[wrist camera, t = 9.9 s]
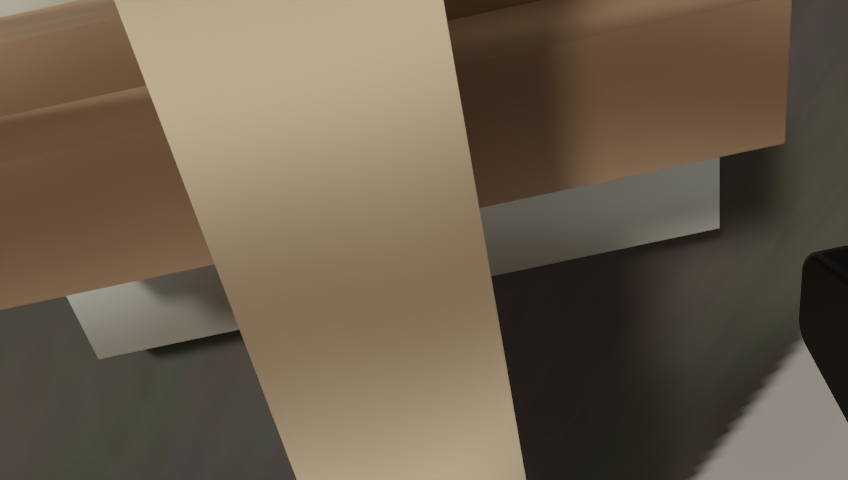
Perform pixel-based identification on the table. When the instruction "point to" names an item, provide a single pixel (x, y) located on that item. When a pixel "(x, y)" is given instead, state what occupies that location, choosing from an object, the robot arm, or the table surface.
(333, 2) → the light wooden block
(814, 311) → the robot arm
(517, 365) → the table surface
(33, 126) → the ridge stand
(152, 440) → the table surface
